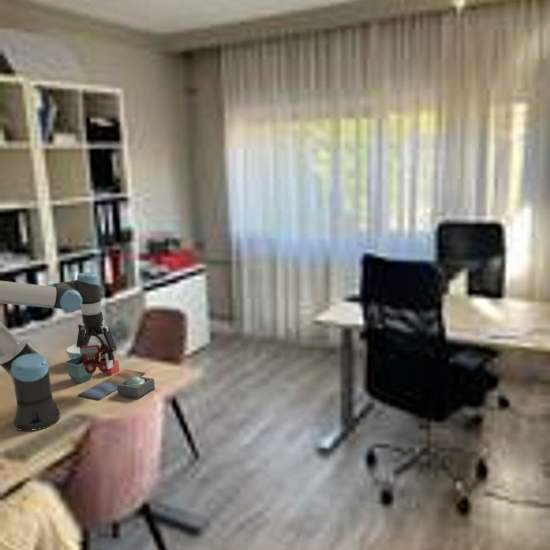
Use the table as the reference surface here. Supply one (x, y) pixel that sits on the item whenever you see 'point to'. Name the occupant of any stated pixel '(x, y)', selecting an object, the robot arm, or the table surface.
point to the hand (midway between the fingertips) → (98, 366)
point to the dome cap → (135, 381)
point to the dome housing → (135, 388)
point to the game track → (109, 385)
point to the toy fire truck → (94, 358)
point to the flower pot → (77, 370)
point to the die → (113, 369)
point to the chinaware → (78, 350)
